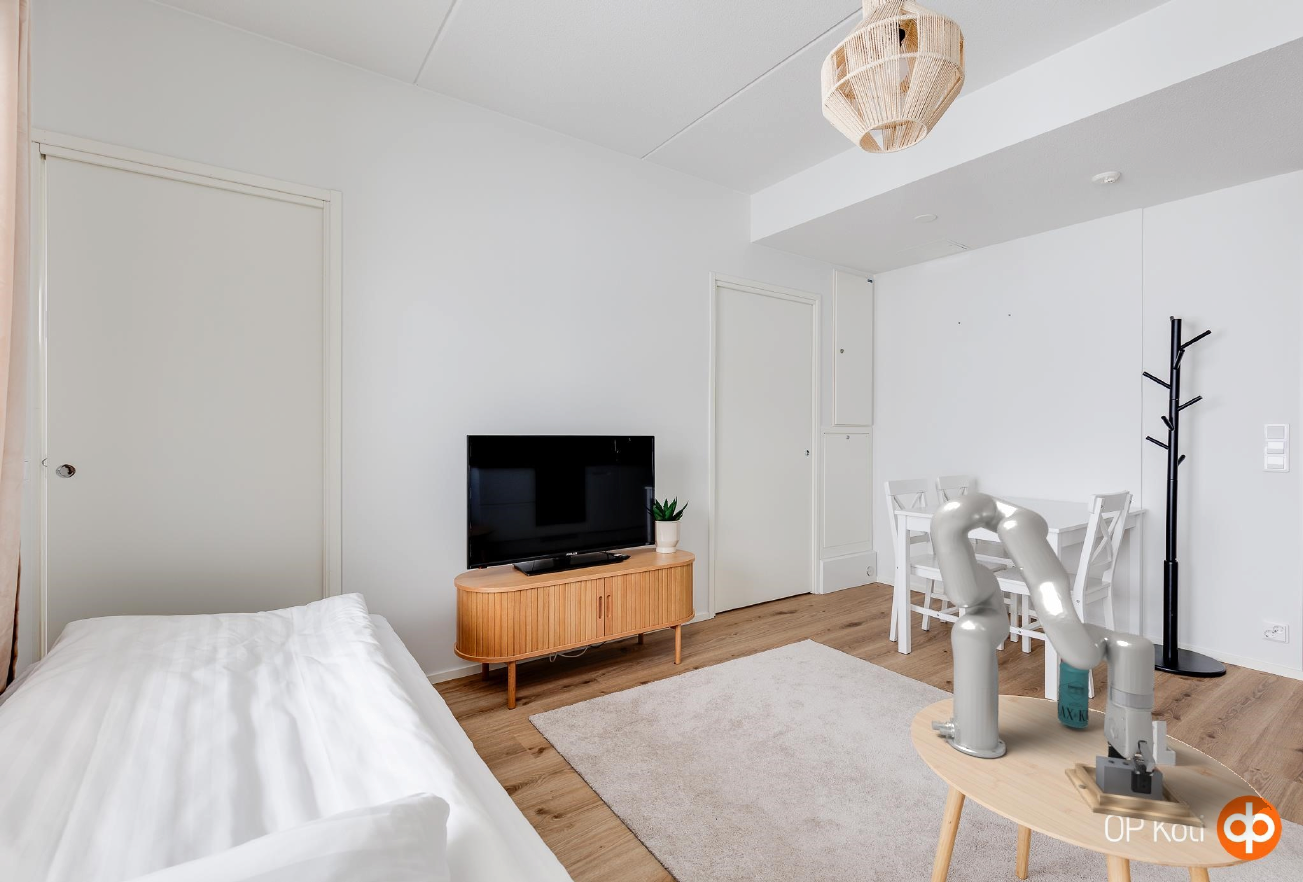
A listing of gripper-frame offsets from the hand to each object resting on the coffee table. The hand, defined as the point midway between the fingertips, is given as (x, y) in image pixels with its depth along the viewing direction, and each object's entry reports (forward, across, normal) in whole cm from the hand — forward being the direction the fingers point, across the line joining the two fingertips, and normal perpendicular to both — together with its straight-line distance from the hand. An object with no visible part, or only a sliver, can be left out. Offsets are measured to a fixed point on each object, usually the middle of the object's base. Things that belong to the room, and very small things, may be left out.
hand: (1128, 778), depth 124 cm
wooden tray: (+4, 0, 0) cm, 4 cm away
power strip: (+3, 0, 0) cm, 3 cm away
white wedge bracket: (+4, -19, +14) cm, 24 cm away
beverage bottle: (+4, -30, +1) cm, 30 cm away
